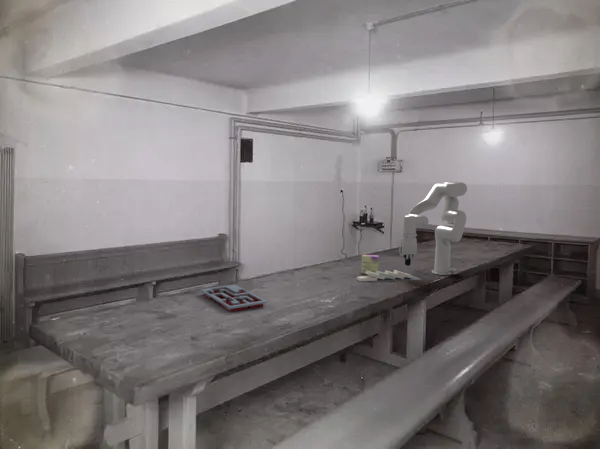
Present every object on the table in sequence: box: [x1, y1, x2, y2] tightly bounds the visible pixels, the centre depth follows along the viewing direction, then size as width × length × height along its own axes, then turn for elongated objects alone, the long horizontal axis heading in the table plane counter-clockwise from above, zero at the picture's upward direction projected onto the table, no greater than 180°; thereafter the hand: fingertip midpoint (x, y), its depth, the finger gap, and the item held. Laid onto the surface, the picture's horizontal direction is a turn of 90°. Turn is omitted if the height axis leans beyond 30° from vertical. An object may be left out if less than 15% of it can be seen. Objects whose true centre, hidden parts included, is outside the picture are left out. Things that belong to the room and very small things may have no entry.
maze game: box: [200, 284, 268, 313], centre depth 230 cm, size 35×20×3 cm, turn 34°
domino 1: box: [356, 275, 377, 283], centre depth 276 cm, size 2×5×11 cm
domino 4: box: [383, 269, 404, 279], centre depth 281 cm, size 2×5×11 cm
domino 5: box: [393, 269, 414, 279], centre depth 283 cm, size 2×5×11 cm
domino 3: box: [376, 270, 395, 280], centre depth 280 cm, size 2×5×11 cm
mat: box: [373, 275, 422, 283], centre depth 282 cm, size 32×10×1 cm, turn 107°
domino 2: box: [364, 271, 385, 280], centre depth 277 cm, size 2×5×11 cm
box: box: [360, 254, 380, 274], centre depth 296 cm, size 10×6×12 cm, turn 84°
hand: (407, 265), depth 283 cm, fingers closed
